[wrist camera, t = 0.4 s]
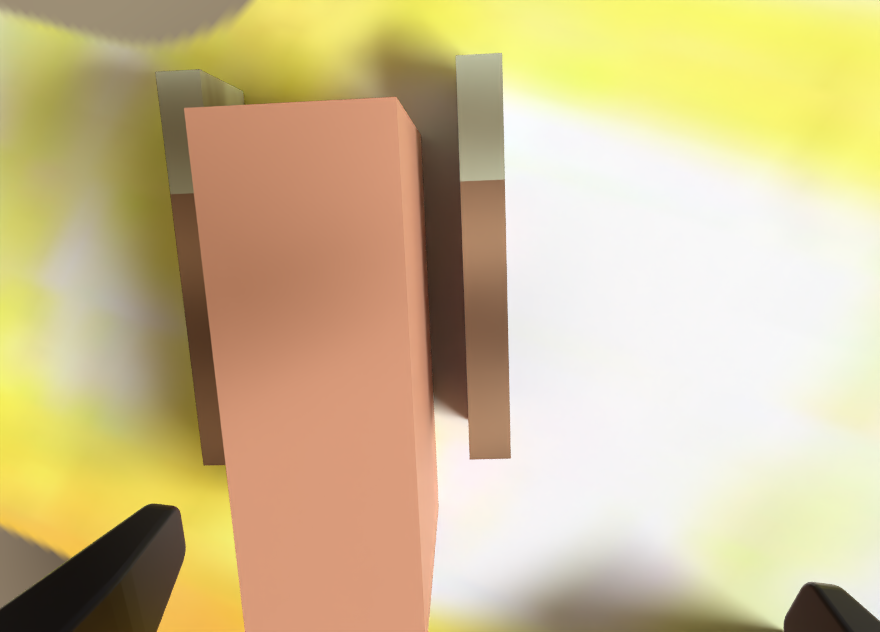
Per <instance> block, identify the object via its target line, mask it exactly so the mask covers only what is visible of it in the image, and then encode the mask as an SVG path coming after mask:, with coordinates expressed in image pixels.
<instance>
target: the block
mask: <svg viewBox="0 0 880 632" xmlns="http://www.w3.org/2000/svg"><path fill="white" fill-rule="evenodd" d="M184 113H185V121H186V130H187V138H188V147H189V156H190V164H191V173H192V181H193V190H194V198H195V207H196V215H197V224H198V233H199V241H200V250H201V258H202V267H203V275H204V284H205V293H206V301H207V310H208V318H209V327H210V335H211V344H212V352H213V361H214V370H215V378H216V387H217V395H218V404H219V412H220V421H221V430H222V438H223V447H224V455H225V464H226V472H227V481H228V489H229V498H230V507H231V515H232V524H233V532H234V541H235V549H236V558H237V566H238V575H239V584H240V592H241V601H242V609H243V618H244V626H245V632H428V626H429V614H430V602H431V590H432V578H433V566H434V554H435V542H436V530H437V518H438V506H439V505H438V483H437V462H436V441H435V420H434V399H433V378H432V357H431V336H430V314H429V293H428V272H427V251H426V230H425V209H424V188H423V167H422V146H421V134H420V133H419V131H418V130H417V128H416V127H415V125H414V123H413V122H412V120H411V119H410V117H409V116H408V114H407V113H406V111H405V110H404V108H403V106H402V105H401V103H400V102H399V100H398V99H397V97H383V98H364V99H345V100H326V101H307V102H288V103H269V104H250V105H231V106H212V107H193V108H184Z"/></svg>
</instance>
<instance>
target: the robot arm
mask: <svg viewBox="0 0 880 632" xmlns="http://www.w3.org/2000/svg"><path fill="white" fill-rule="evenodd" d="M185 548H186V546H185V538H184V532H183V526H182V520H181V514H180V511H179V509H178V508H177V507H175V506H171V505H162V504H149V505H146V506H144V507H143V508H141V509H140V510H138V511H137V512H136V513H134V514H133V515H131V516H130V517H129V518H127V519H126V520H124V521H123V522H121V523H120V524H119V525H117V526H116V527H114V528H113V529H112V530H110V531H109V532H107V533H106V534H104V535H103V536H102V537H100V538H99V539H97V540H96V541H95V542H93V543H92V544H90V545H89V546H87V547H86V548H85V549H83V550H82V551H80V552H79V553H78V554H76V555H75V556H73V557H72V558H71V559H69V560H68V561H66V562H65V563H63V564H62V565H61V566H59V567H58V568H56V569H55V570H54V571H52V572H51V573H49V574H48V575H46V576H45V577H44V578H42V579H41V580H39V581H38V582H37V583H35V584H34V585H32V586H31V587H29V588H28V589H27V590H25V591H24V592H22V593H21V594H20V595H18V596H17V597H15V598H14V599H13V600H11V601H10V602H8V603H7V604H6V605H4V606H3V607H1V608H0V632H157V630H158V627H159V624H160V622H161V619H162V616H163V614H164V611H165V608H166V606H167V603H168V600H169V598H170V595H171V592H172V590H173V587H174V584H175V582H176V579H177V576H178V574H179V571H180V568H181V566H182V563H183V560H184V556H185ZM784 632H880V621H879V620H878V619H877V618H876V617H875V616H873V615H872V614H871V613H870V612H869V611H868V610H867V609H865V608H864V607H863V606H862V605H861V604H860V603H859V602H857V601H856V600H855V599H854V598H853V597H852V596H851V595H849V594H848V593H847V592H846V591H845V590H843V589H842V588H840V587H839V586H836V585H832V584H825V583H816V582H808V583H806V584H805V585H803V587H802V588H801V590H800V591H799V593H798V595H797V597H796V598H795V600H794V602H793V604H792V605H791V607H790V609H789V611H788V612H787V614H786V616H785V620H784Z"/></svg>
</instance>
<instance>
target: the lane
mask: <svg viewBox="0 0 880 632" xmlns="http://www.w3.org/2000/svg"><path fill="white" fill-rule="evenodd" d="M155 73H156V81H157V89H158V97H159V105H160V114H161V122H162V130H163V138H164V146H165V154H166V162H167V171H168V179H169V187H170V195H171V203H172V211H173V220H174V228H175V236H176V244H177V252H178V260H179V269H180V277H181V285H182V293H183V301H184V309H185V317H186V326H187V334H188V342H189V350H190V358H191V366H192V375H193V383H194V391H195V399H196V407H197V415H198V424H199V432H200V440H201V448H202V456H203V464H204V465H226V464H225V455H224V447H223V438H222V430H221V421H220V412H219V404H218V395H217V387H216V378H215V370H214V361H213V352H212V344H211V335H210V327H209V318H208V310H207V301H206V293H205V284H204V275H203V267H202V258H201V250H200V241H199V233H198V224H197V215H196V207H195V198H194V190H193V181H192V173H191V164H190V156H189V147H188V138H187V130H186V121H185V113H184V108H193V107H212V106H231V105H244V95H243V91H242V90H240V89H238V88H236V87H234V86H232V85H230V84H228V83H226V82H224V81H222V80H220V79H218V78H216V77H214V76H212V75H210V74H208V73H206V72H204V71H202V70H200V69H198V70H179V71H161V72H155ZM456 79H457V108H458V137H459V165H460V194H461V222H462V251H463V280H464V308H465V337H466V365H467V394H468V423H469V451H470V459H508V458H511V450H510V403H509V357H508V311H507V264H506V218H505V171H504V125H503V78H502V53H493V54H475V55H456Z"/></svg>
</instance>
